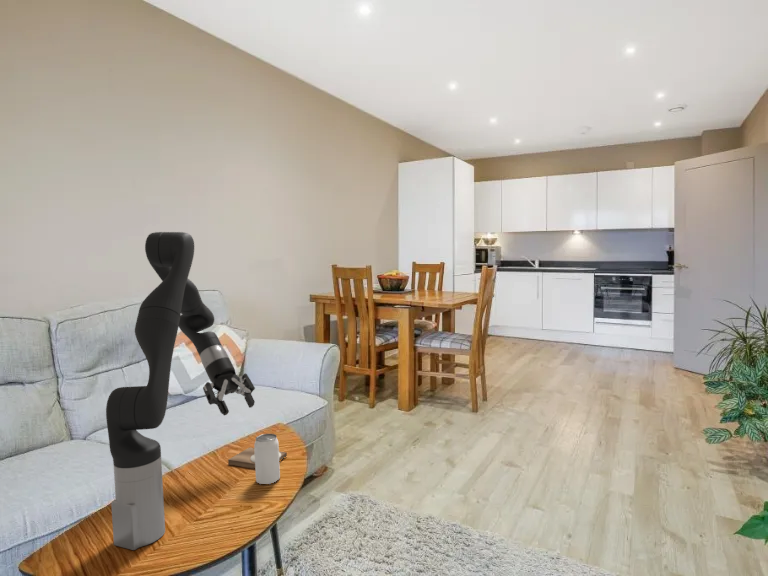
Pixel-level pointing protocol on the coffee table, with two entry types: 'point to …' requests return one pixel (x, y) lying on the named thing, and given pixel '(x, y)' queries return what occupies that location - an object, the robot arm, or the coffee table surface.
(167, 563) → the coffee table surface
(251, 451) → the board
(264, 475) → the can
